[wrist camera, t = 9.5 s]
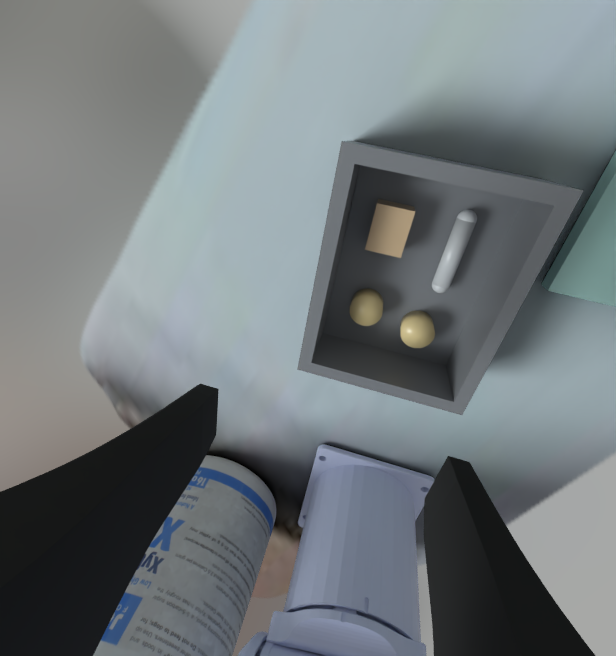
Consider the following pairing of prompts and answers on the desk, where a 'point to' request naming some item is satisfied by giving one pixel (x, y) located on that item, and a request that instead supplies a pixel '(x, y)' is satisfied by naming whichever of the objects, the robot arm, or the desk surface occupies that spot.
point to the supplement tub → (197, 569)
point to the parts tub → (425, 271)
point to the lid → (590, 248)
